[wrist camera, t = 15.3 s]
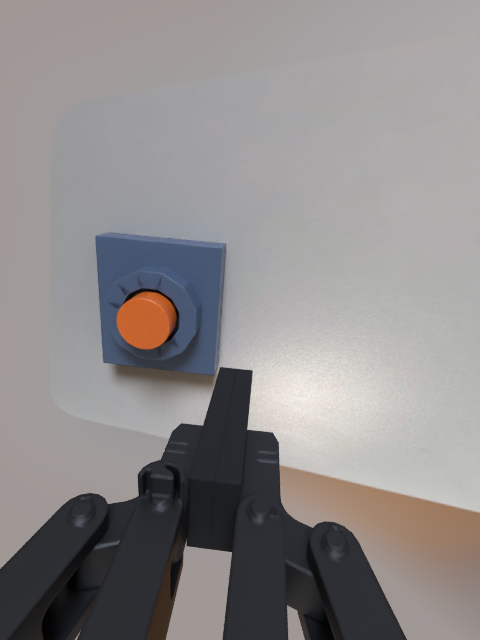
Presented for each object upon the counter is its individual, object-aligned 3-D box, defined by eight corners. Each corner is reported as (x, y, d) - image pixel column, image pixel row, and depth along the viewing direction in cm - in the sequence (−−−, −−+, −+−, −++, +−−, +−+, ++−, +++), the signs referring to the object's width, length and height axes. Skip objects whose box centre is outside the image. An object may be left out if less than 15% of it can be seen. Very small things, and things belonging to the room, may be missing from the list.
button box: (109, 232, 26) (81, 238, 22) (226, 243, 26) (218, 251, 22) (114, 351, 29) (92, 373, 26) (218, 363, 29) (210, 387, 25)
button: (126, 288, 24) (115, 295, 22) (177, 293, 23) (170, 301, 22) (127, 336, 25) (117, 346, 23) (176, 342, 25) (169, 352, 23)
